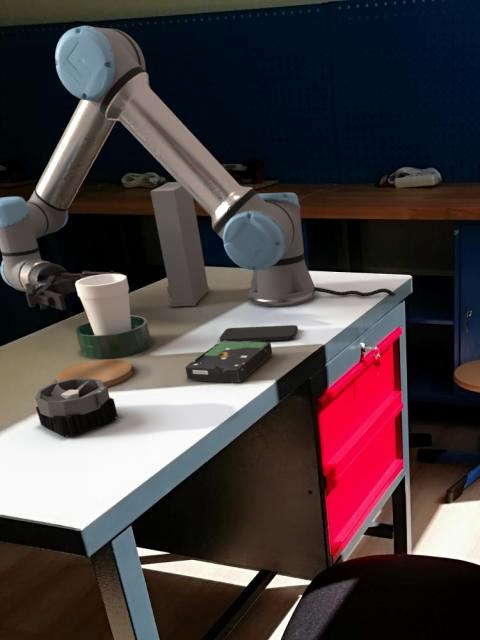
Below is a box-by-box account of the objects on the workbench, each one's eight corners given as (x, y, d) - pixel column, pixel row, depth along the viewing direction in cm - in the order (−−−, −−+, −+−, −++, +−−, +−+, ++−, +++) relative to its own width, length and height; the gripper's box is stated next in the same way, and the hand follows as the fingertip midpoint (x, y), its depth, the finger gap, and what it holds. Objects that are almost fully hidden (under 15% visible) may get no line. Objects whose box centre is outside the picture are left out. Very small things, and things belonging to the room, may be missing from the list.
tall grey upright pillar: (184, 292, 187) (164, 182, 174) (209, 291, 187) (190, 181, 174) (169, 307, 175) (146, 191, 162) (195, 306, 175) (174, 190, 162)
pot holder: (145, 365, 141) (144, 360, 141) (108, 391, 130) (106, 386, 130) (83, 363, 144) (82, 358, 144) (42, 388, 133) (40, 383, 133)
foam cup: (126, 354, 147) (110, 286, 140) (83, 353, 148) (65, 286, 142) (148, 338, 155) (134, 273, 148) (107, 337, 156) (92, 273, 150)
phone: (226, 327, 156) (298, 324, 155) (227, 331, 157) (298, 328, 156) (218, 339, 150) (292, 336, 149) (218, 343, 150) (293, 340, 149)
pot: (163, 337, 156) (158, 315, 153) (129, 359, 145) (124, 336, 142) (105, 335, 159) (99, 314, 156) (68, 357, 148) (62, 334, 145)
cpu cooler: (23, 391, 116) (83, 371, 123) (33, 425, 119) (92, 404, 126) (56, 406, 110) (117, 385, 117) (66, 442, 113) (126, 419, 120)
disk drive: (241, 385, 131) (273, 354, 143) (238, 369, 129) (271, 340, 141) (186, 382, 133) (222, 352, 145) (183, 366, 132) (220, 338, 144)
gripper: (104, 285, 171) (154, 299, 158) (-7, 311, 156) (39, 329, 143) (95, 250, 167) (147, 262, 154) (-18, 274, 152) (28, 289, 139)
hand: (95, 294), depth 149 cm, fingers open, 13 cm apart
